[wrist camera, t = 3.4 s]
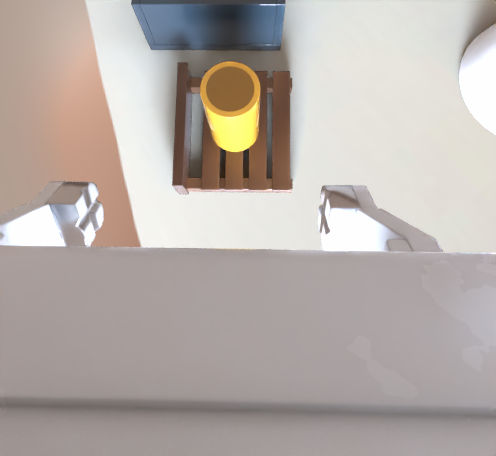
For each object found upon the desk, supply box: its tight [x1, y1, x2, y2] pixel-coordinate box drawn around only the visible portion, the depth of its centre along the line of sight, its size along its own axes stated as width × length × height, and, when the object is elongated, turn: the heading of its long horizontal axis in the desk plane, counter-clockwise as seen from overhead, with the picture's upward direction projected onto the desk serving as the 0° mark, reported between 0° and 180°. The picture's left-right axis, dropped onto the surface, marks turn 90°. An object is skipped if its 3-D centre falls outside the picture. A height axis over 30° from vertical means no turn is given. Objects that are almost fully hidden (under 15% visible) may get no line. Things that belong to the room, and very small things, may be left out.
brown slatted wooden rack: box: [172, 63, 292, 194], centre depth 39 cm, size 12×13×4 cm
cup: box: [200, 61, 260, 152], centre depth 35 cm, size 5×5×8 cm
